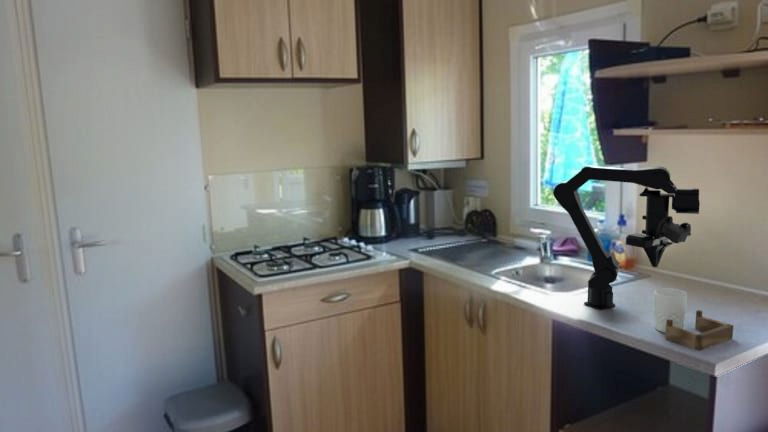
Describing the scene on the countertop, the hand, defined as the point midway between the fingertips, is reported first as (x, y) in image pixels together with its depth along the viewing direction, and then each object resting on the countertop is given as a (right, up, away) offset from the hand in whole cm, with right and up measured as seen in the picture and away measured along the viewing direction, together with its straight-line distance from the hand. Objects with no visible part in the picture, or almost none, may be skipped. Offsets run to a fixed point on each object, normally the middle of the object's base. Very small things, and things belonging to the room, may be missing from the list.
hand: (654, 266), depth 166 cm
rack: (+2, -16, -19) cm, 25 cm away
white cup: (-2, -15, -12) cm, 19 cm away
